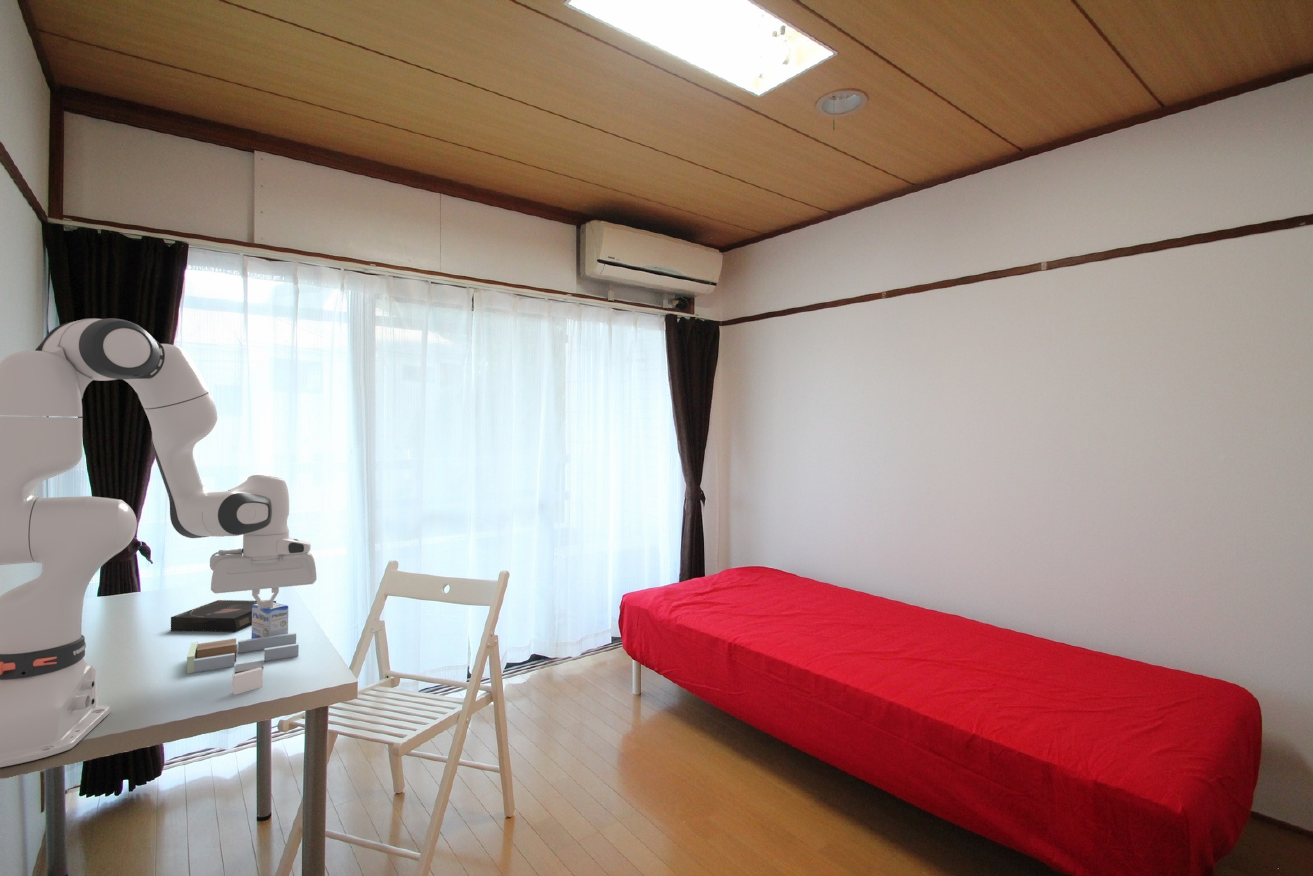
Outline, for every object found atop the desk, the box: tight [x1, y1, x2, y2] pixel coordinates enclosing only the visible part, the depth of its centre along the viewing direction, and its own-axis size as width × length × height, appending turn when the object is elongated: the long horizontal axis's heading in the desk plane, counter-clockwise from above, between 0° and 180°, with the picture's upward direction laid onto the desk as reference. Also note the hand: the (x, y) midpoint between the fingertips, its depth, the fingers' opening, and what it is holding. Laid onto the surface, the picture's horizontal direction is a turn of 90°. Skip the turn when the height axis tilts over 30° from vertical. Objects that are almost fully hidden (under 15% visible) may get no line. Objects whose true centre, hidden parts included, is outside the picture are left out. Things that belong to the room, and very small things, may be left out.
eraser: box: [231, 668, 264, 695], centre depth 122 cm, size 1×5×4 cm, turn 143°
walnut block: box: [197, 638, 237, 663], centre depth 137 cm, size 5×7×4 cm
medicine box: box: [250, 602, 289, 639], centre depth 151 cm, size 8×4×9 cm, turn 62°
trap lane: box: [186, 632, 299, 675], centre depth 139 cm, size 20×20×4 cm
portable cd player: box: [170, 599, 277, 633], centre depth 166 cm, size 16×17×4 cm
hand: (265, 608), depth 140 cm, fingers closed
